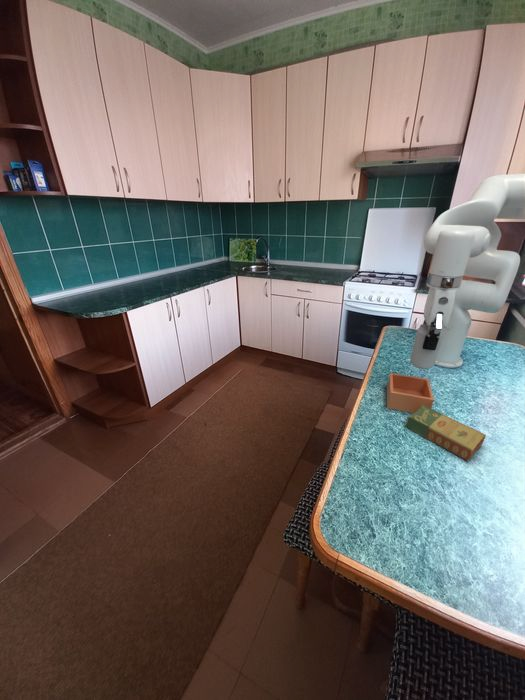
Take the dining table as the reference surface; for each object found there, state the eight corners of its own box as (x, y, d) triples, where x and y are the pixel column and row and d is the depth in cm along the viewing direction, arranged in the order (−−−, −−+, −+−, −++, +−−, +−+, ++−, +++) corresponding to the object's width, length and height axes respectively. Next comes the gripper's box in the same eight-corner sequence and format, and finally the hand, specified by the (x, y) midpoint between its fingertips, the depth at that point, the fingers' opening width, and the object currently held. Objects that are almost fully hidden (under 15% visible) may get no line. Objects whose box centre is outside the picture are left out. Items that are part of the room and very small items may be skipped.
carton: (468, 462, 70) (473, 450, 69) (405, 427, 82) (408, 415, 80) (481, 446, 75) (486, 434, 73) (419, 414, 86) (423, 403, 84)
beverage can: (436, 371, 82) (448, 332, 76) (412, 369, 83) (422, 331, 78) (429, 360, 87) (440, 323, 82) (407, 358, 89) (415, 322, 83)
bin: (386, 387, 99) (389, 372, 96) (424, 394, 95) (428, 378, 93) (387, 408, 89) (390, 392, 87) (429, 416, 86) (434, 399, 83)
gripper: (469, 291, 65) (447, 360, 74) (453, 274, 80) (436, 333, 88) (432, 288, 68) (415, 355, 76) (423, 272, 82) (409, 330, 90)
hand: (427, 343), depth 82 cm, fingers closed on beverage can, 6 cm apart
